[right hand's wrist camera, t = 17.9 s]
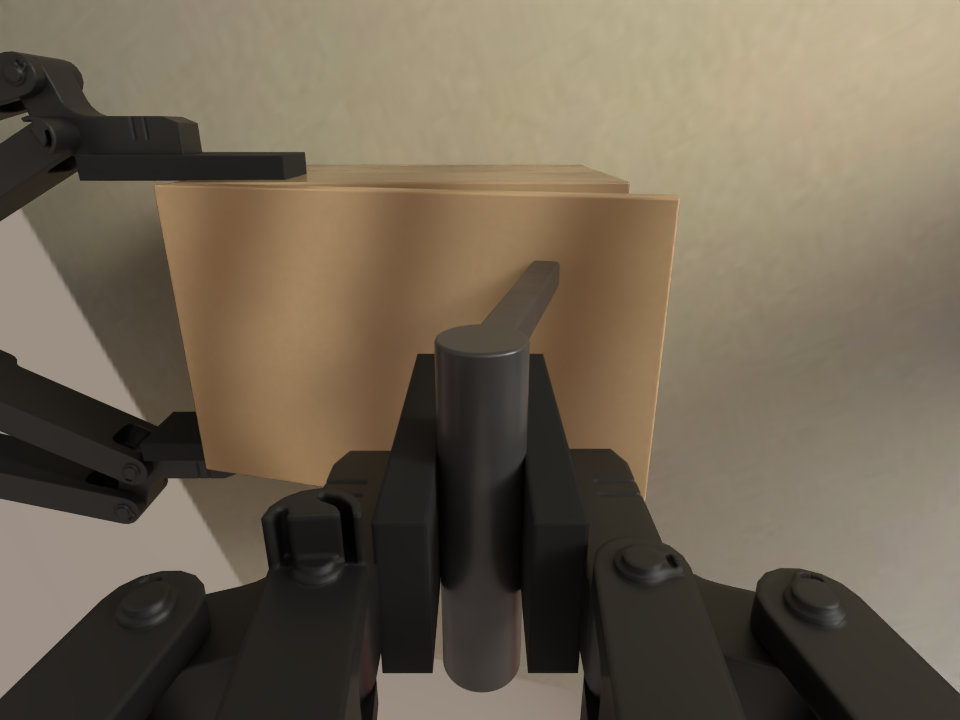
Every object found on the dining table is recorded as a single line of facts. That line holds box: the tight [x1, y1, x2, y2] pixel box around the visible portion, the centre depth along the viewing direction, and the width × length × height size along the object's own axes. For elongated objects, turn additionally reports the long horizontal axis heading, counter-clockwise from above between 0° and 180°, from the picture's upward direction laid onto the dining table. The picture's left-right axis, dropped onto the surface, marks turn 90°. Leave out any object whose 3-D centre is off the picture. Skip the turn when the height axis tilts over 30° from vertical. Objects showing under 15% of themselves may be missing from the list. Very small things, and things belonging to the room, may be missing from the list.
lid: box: [154, 183, 680, 692], centre depth 15 cm, size 15×10×8 cm, turn 90°
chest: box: [174, 165, 629, 194], centre depth 24 cm, size 14×10×9 cm
